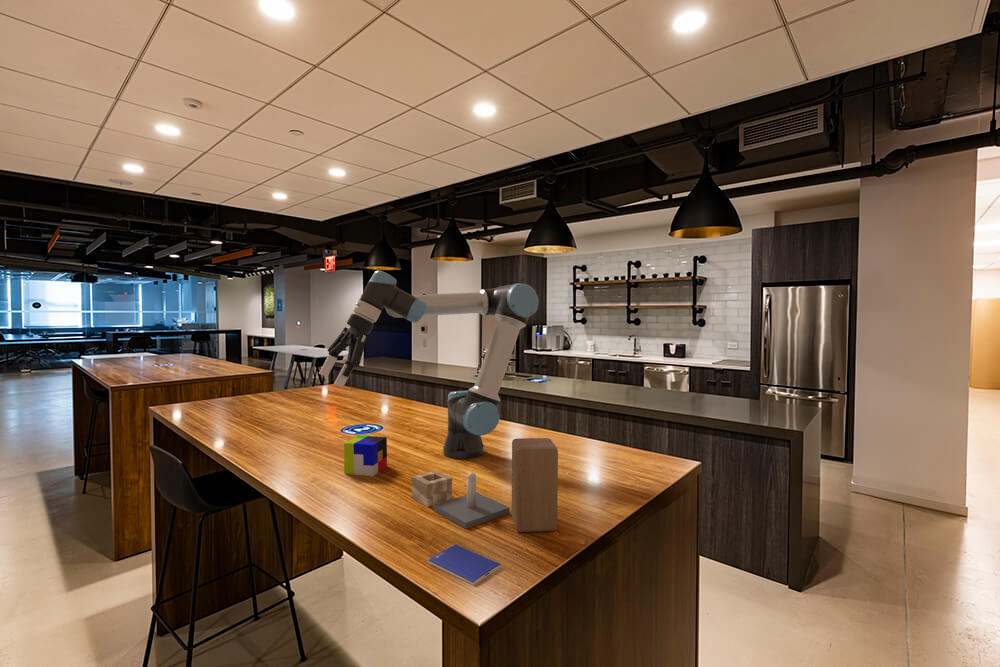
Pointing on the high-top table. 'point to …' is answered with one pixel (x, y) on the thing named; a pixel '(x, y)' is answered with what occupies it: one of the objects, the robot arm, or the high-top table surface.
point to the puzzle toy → (365, 455)
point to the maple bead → (431, 488)
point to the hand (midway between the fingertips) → (330, 380)
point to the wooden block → (534, 484)
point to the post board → (471, 507)
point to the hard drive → (464, 564)
